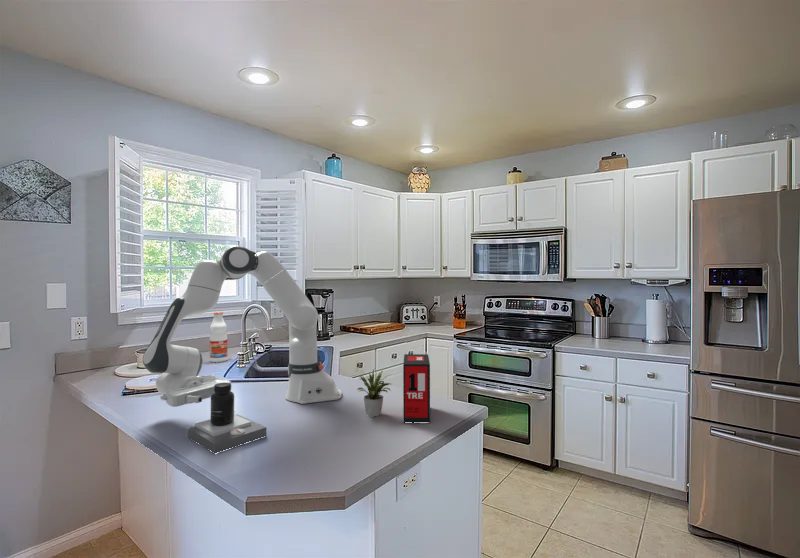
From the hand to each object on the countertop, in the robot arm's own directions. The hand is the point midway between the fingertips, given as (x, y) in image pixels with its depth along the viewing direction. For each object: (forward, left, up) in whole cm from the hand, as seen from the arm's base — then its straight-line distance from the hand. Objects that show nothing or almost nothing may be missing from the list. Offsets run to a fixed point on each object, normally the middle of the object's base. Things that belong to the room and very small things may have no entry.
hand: (213, 396), depth 130 cm
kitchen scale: (-5, +5, -12) cm, 14 cm away
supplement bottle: (-3, +3, -8) cm, 9 cm away
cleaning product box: (-67, -2, -12) cm, 68 cm away
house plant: (-51, -5, -12) cm, 52 cm away
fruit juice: (+23, -113, -12) cm, 116 cm away
